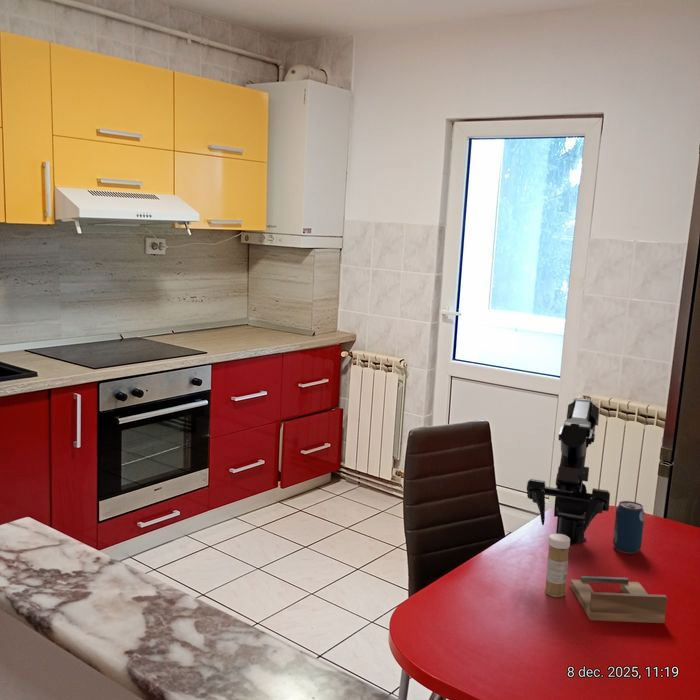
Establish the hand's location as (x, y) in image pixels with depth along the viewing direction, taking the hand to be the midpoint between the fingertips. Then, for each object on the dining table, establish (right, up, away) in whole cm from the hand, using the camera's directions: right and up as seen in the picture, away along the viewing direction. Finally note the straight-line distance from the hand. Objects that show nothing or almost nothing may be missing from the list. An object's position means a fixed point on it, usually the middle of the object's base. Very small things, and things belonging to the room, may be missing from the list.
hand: (563, 527), depth 174 cm
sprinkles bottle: (-3, -14, -5) cm, 15 cm away
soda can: (+22, -11, +22) cm, 33 cm away
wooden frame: (+9, -15, -8) cm, 19 cm away
